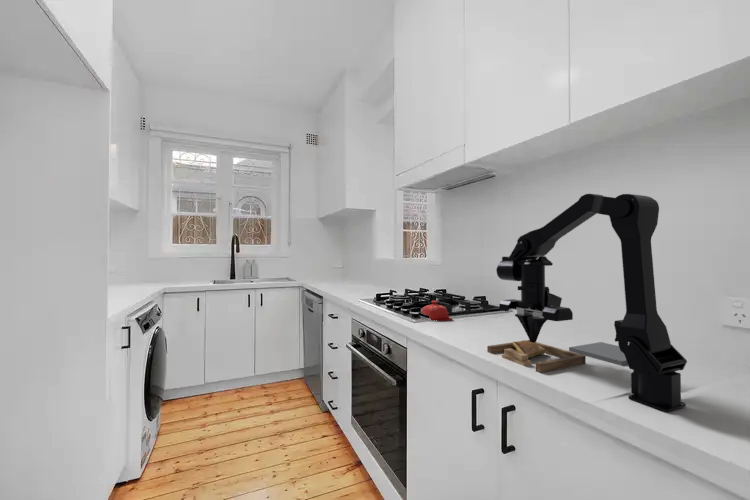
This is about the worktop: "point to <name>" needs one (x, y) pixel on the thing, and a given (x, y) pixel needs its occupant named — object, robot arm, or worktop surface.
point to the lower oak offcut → (517, 360)
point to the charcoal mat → (601, 352)
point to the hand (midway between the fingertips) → (533, 342)
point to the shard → (528, 348)
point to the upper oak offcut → (516, 355)
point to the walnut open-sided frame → (564, 360)
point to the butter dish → (436, 312)
